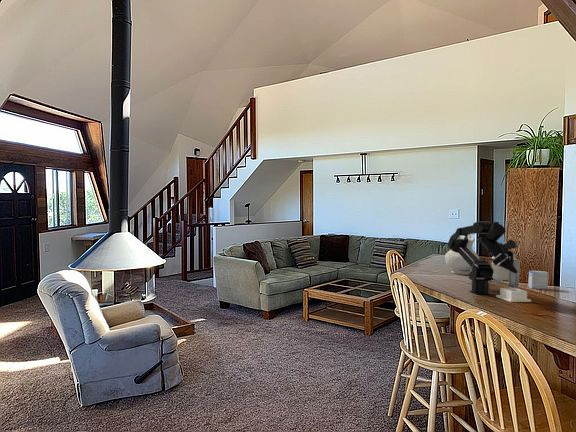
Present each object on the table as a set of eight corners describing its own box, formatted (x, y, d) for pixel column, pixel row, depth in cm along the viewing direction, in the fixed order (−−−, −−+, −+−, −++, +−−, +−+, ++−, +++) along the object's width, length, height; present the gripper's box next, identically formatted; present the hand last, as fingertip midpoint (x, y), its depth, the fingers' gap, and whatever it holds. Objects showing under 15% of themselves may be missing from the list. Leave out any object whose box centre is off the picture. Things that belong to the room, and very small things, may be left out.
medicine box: (543, 288, 227) (544, 271, 227) (548, 289, 223) (549, 272, 223) (527, 287, 228) (528, 270, 228) (531, 288, 224) (532, 271, 223)
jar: (518, 281, 245) (520, 249, 245) (493, 279, 248) (495, 248, 247) (511, 277, 258) (513, 247, 258) (488, 276, 261) (489, 246, 260)
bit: (512, 287, 194) (513, 260, 193) (506, 285, 197) (507, 259, 197) (520, 287, 194) (522, 260, 194) (514, 285, 198) (516, 259, 198)
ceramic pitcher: (484, 278, 258) (489, 236, 257) (450, 275, 258) (455, 232, 257) (469, 273, 279) (474, 234, 278) (438, 269, 279) (443, 230, 279)
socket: (510, 301, 190) (510, 291, 190) (495, 296, 200) (496, 287, 200) (531, 301, 192) (531, 291, 192) (515, 296, 202) (516, 287, 201)
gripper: (502, 234, 190) (529, 263, 184) (510, 232, 205) (536, 259, 198) (481, 250, 195) (507, 279, 189) (491, 248, 210) (516, 274, 203)
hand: (517, 272), depth 195 cm, fingers closed on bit, 4 cm apart
